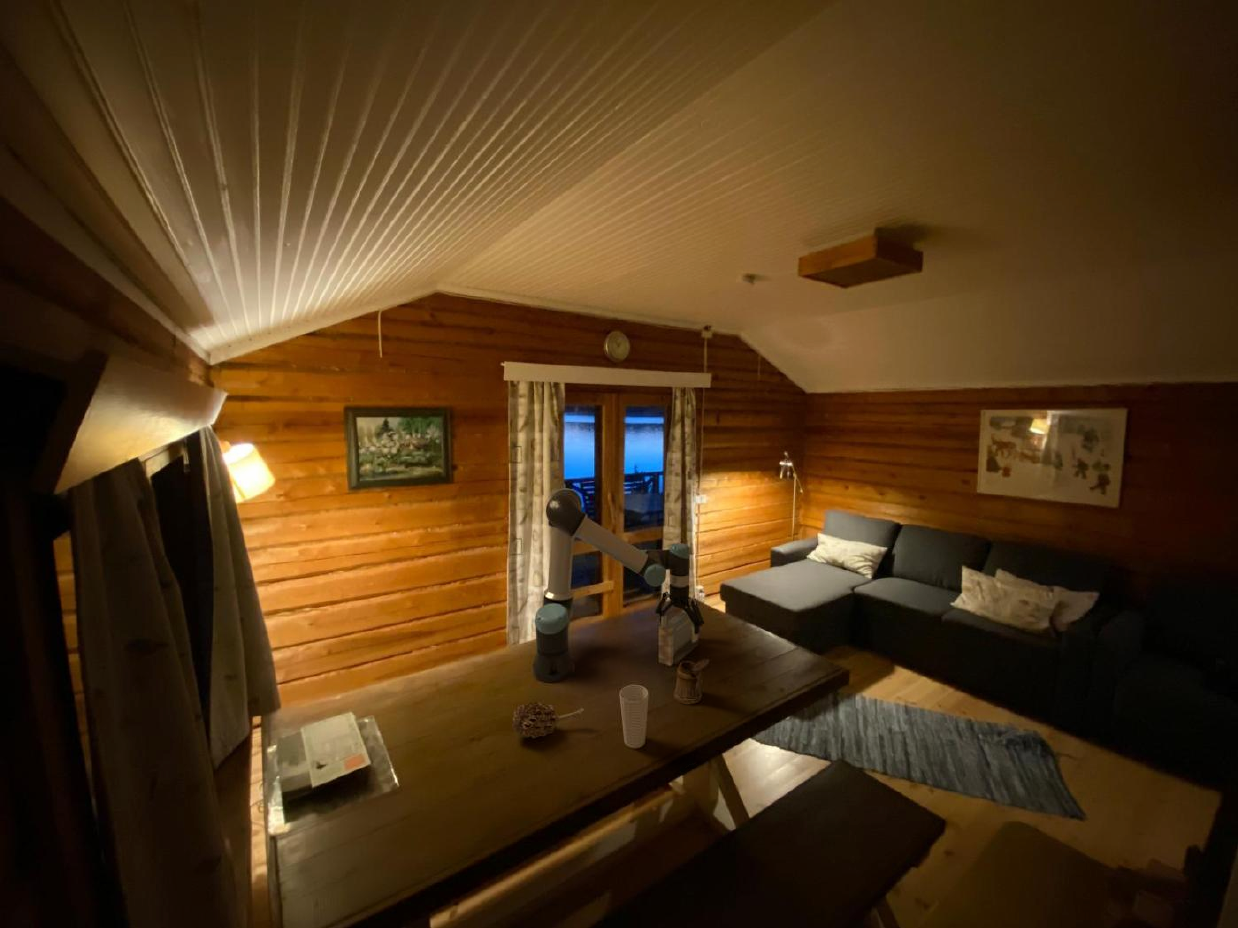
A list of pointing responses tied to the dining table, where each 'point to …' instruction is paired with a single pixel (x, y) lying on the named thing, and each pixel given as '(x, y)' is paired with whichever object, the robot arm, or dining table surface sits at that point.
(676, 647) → the door panel
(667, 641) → the u-shaped holder
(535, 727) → the dried seed pod
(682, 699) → the wooden mug
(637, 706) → the cup
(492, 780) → the dining table surface
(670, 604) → the robot arm
